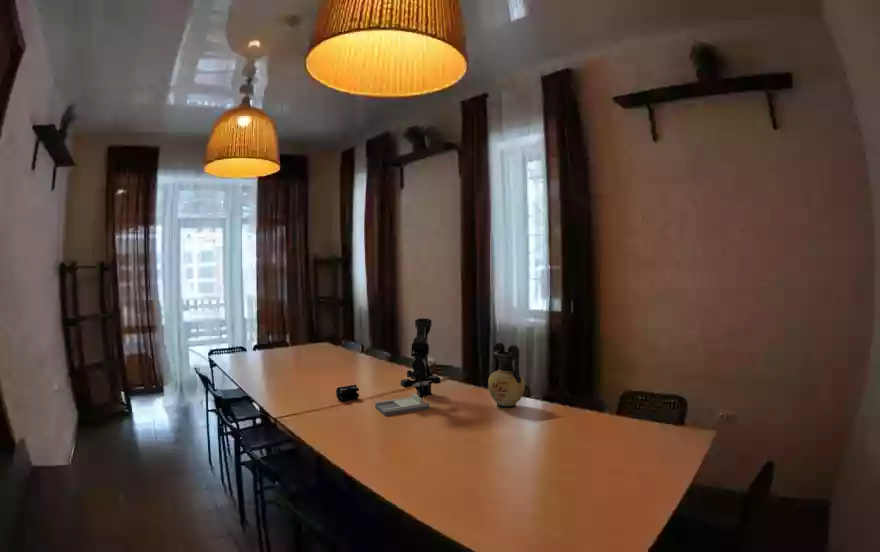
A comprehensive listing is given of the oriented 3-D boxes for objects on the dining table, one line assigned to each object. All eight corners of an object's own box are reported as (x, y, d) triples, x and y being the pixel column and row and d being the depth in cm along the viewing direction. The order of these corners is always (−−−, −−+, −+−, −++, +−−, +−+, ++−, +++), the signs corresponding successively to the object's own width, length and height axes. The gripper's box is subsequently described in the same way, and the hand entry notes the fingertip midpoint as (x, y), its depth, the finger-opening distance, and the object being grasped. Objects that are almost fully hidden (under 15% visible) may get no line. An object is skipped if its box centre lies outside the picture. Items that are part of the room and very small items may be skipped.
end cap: (354, 396, 264) (354, 383, 264) (359, 399, 258) (359, 386, 258) (336, 399, 259) (335, 386, 258) (341, 402, 253) (340, 389, 252)
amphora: (532, 406, 239) (531, 343, 238) (511, 415, 227) (510, 348, 226) (502, 400, 251) (500, 339, 250) (480, 407, 239) (479, 344, 238)
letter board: (418, 401, 252) (418, 396, 251) (429, 408, 239) (429, 403, 239) (375, 407, 242) (375, 402, 242) (384, 415, 230) (384, 409, 230)
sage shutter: (414, 399, 249) (414, 393, 249) (423, 405, 239) (423, 398, 239) (393, 402, 245) (393, 396, 245) (401, 408, 234) (401, 402, 234)
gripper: (431, 362, 255) (432, 392, 256) (396, 366, 247) (397, 397, 248) (440, 366, 245) (441, 398, 246) (404, 370, 237) (405, 403, 238)
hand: (421, 399), depth 244 cm, fingers closed
